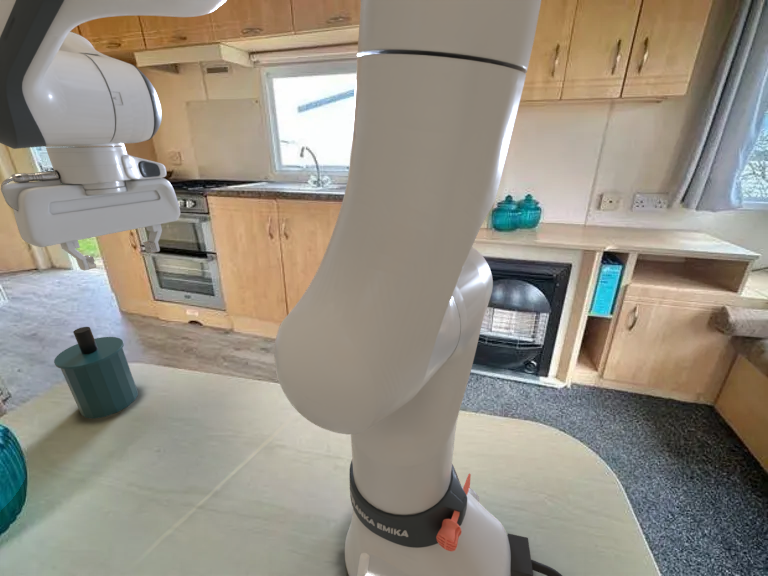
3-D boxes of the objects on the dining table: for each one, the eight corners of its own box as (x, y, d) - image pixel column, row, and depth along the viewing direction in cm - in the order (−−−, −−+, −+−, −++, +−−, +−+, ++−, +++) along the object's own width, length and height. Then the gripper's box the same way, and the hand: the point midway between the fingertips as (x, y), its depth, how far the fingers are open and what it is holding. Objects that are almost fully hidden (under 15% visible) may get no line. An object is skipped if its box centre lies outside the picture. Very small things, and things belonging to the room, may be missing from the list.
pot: (147, 397, 72) (130, 347, 67) (96, 427, 64) (73, 373, 60) (124, 383, 76) (106, 335, 71) (73, 409, 69) (49, 358, 64)
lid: (135, 349, 67) (126, 324, 65) (71, 378, 59) (59, 350, 57) (108, 336, 72) (99, 312, 70) (46, 362, 64) (33, 335, 62)
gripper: (4, 175, 40) (49, 285, 46) (175, 164, 57) (193, 246, 62) (-15, 173, 43) (30, 277, 49) (153, 163, 60) (172, 242, 65)
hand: (123, 259), depth 56 cm, fingers open, 8 cm apart
